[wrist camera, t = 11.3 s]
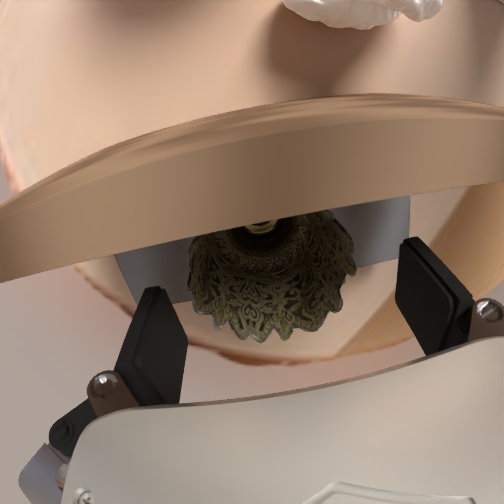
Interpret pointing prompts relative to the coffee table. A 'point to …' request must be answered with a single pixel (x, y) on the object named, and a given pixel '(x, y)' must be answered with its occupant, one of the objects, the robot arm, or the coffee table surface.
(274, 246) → the cup
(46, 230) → the board
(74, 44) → the coffee table surface
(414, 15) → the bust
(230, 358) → the coffee table surface
